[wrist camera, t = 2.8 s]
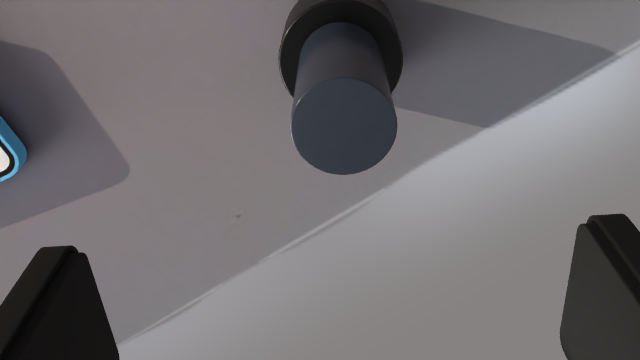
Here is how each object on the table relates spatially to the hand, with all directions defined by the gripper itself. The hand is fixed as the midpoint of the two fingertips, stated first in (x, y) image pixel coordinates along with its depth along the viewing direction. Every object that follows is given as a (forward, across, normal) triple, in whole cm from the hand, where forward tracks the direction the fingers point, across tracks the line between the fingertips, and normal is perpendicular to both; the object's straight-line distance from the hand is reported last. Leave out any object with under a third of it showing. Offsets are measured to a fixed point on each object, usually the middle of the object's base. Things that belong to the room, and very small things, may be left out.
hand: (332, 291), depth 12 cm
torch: (+16, -1, 0) cm, 16 cm away
